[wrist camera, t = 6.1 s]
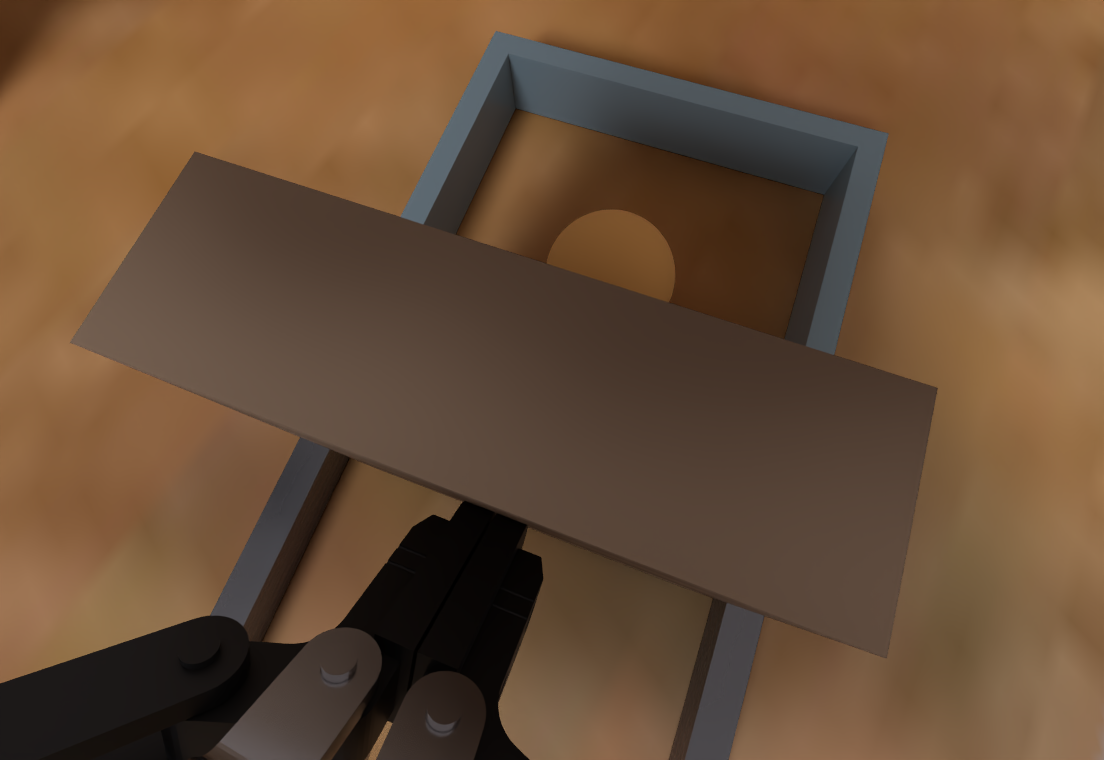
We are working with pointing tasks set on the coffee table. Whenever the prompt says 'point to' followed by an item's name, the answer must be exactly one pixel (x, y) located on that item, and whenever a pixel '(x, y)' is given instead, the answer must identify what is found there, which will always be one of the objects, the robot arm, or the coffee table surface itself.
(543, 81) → the blue-grey rectangular frame
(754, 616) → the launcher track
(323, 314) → the board
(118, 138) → the coffee table surface
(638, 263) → the ball
